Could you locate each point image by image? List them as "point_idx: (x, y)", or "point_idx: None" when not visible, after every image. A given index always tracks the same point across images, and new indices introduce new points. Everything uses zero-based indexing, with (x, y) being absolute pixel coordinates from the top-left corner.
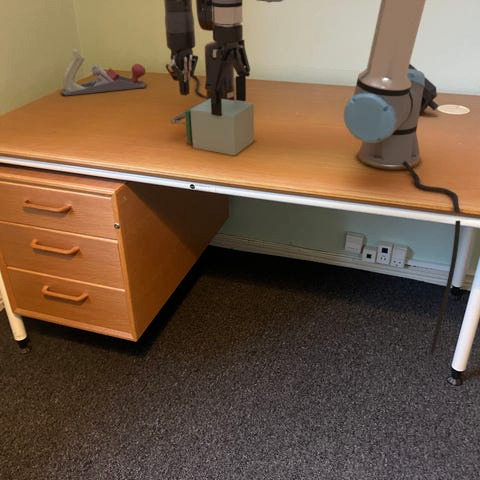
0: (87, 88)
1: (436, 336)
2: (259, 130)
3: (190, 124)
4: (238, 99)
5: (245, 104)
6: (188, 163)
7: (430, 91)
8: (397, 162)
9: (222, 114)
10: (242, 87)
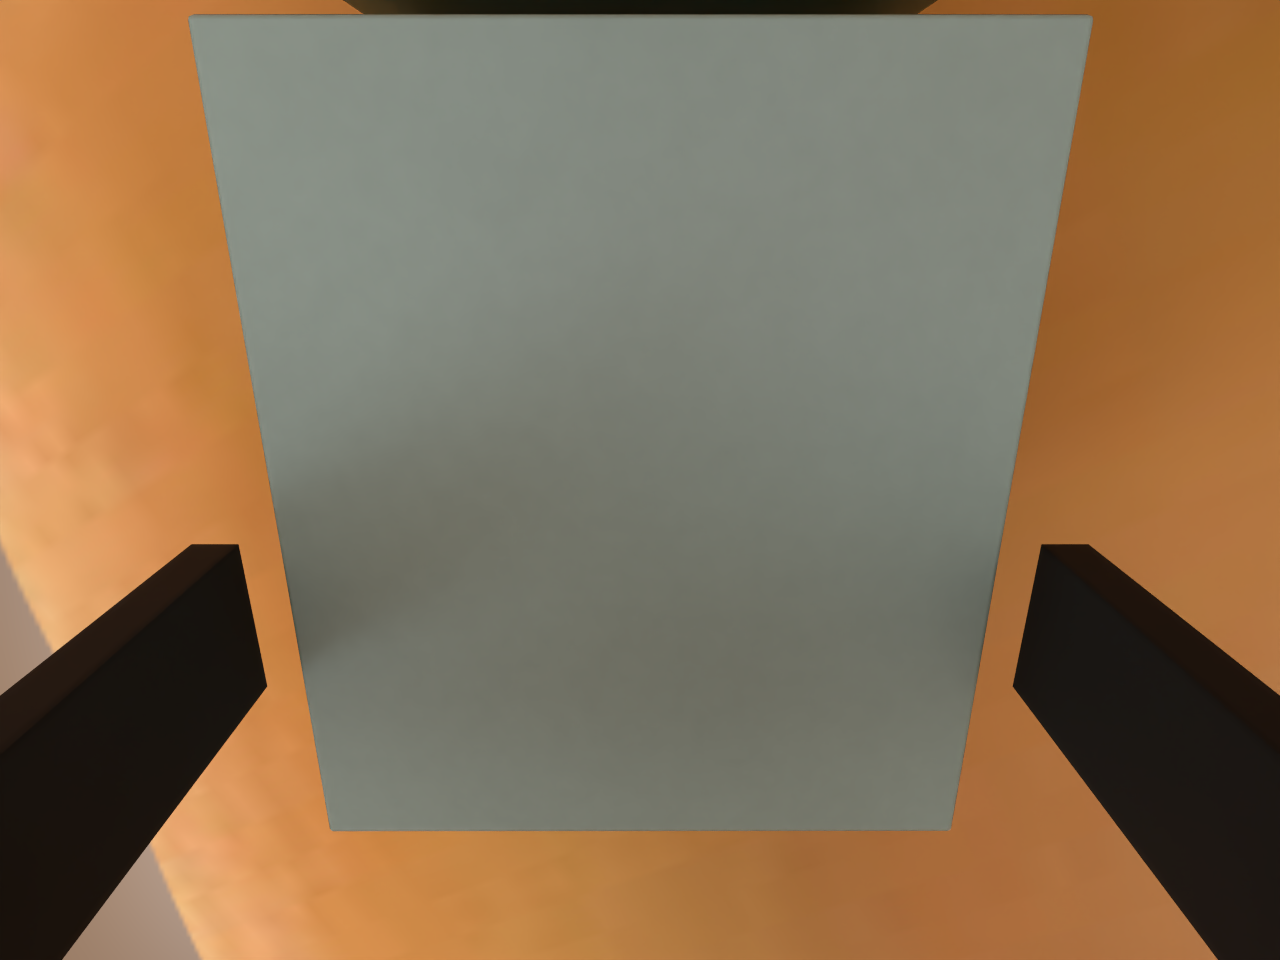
0: None
1: None
2: (1102, 496)
3: (381, 9)
4: (1040, 597)
5: (861, 762)
6: (92, 291)
7: None
8: None
9: (304, 676)
10: (1158, 830)
